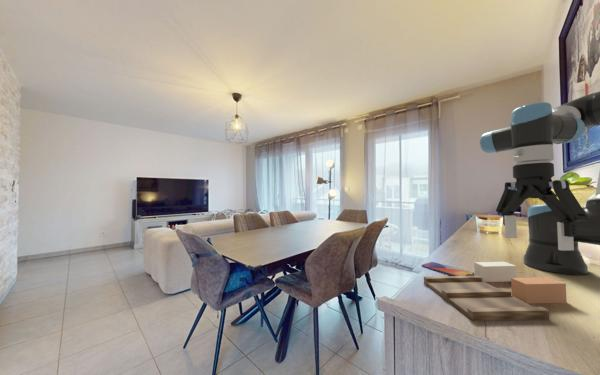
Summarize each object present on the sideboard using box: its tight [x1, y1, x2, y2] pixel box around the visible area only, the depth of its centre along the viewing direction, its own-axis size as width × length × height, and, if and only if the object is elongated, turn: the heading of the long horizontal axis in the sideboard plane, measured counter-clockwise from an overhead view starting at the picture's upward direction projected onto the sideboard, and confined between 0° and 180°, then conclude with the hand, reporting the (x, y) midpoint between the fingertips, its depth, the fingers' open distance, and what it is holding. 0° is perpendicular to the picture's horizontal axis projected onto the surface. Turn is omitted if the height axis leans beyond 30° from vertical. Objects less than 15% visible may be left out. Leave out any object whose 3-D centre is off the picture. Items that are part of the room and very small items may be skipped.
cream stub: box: [473, 261, 518, 283], centre depth 71 cm, size 10×4×5 cm, turn 89°
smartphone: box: [421, 261, 475, 276], centre depth 79 cm, size 7×15×1 cm, turn 26°
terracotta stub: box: [510, 276, 568, 304], centre depth 58 cm, size 10×4×5 cm, turn 89°
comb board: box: [423, 275, 551, 322], centre depth 59 cm, size 17×20×2 cm
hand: (535, 243), depth 58 cm, fingers open, 13 cm apart
